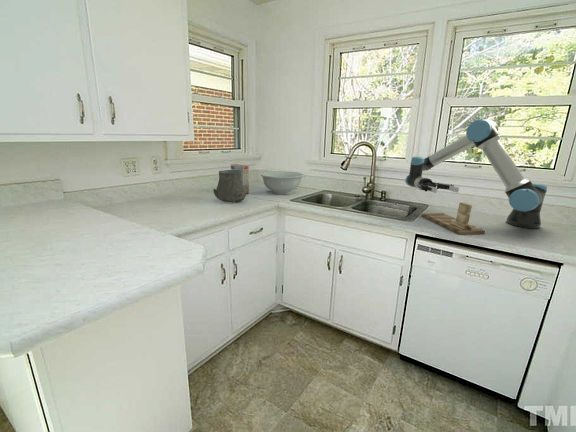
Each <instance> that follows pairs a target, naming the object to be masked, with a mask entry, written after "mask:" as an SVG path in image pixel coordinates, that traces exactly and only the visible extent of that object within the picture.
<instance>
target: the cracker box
mask: <svg viewBox="0 0 576 432" xmlns="http://www.w3.org/2000/svg"><path fill="white" fill-rule="evenodd" d="M230 170H240V171H242V174H241V179H242V184H243V187H244V190H245V194H246V195H248V194H250V193H249V191H250V189H249V187H250V182H249V180H250V179H249V178H250V177H249V175H250V173H249V171H250V170H249V165H246V164H238V163H232V164H230Z"/></svg>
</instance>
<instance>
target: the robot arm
mask: <svg viewBox="0 0 576 432" xmlns="http://www.w3.org/2000/svg"><path fill="white" fill-rule="evenodd" d="M500 138H501V134H500V133H499V126H498V124H497V123H496V122H495V121H494V120H491V119H487V118H479V119H475V120H473V121H472V122H470V123H469V124H468V126H467V128H466V131H465V135H464V136H463V137H461V138H459V139H457V140H456V141H454V142H451V143H450V144H448V145H447V146H445V147H443V148H441V149H440V150H438V151H436V152H433V153H432V154H431V155H429V156H427V157H425V158H424V157H423V156H412V157H411V160H410V165H409V167H410V168H409V174H408V175H407V176H406V178H405V184H406V185H407V186H409V187H411V188H414V189H415V188H416V189H418V190H419V191H420V190H421V191H424V192H431V193H435V194H436V193H437V191H438V190H439V189H440V190H447V191H451V192H453V193H459V191H460V187H458V186H454V184H446V183H440V182H435V181H434V182H433V180H432V179H431V178H428V177H423V176H422V175H423V171H430V170H431V168H432V169H433V168H434V167H436V166H438V165H439V164H441V163H444V162H446V160H450V159H451V158H453V157H455V156H457V155H458V154H460V153H463V152H464V151H467V150H469V149H471V148H472V147H474V146H475V147H476V149H478V150H482V152H483V154H484V155H485V156H486V159H487V160H488V161H489V163H490V165H491V166H492V168H493V170H494V171H495V173H496V174H497V175H498V177H499V178H500V180H501V182H502V183H503V185H504V186H505V189H504V193H505V195H506V196H507V198H508V203H509V205H510V207H511V208H513V209H511V212H510V213H509V214H508V216H507V218H506V220H505V222H506V223H507V224H509V225H512V226H514V227H515V226H516V227H520V228H526V229H533V230H534V229H536V230H537V229H540V228H541V226H542V220H541V210H542V206H543V203H544V200H545V196H546V194H547V191H548V190H547V189H548V187H547V185H545V184H537V183H533V182H532V181H531V180H530V179H525V177H524V176H523V174H522V172H521V171H520V170H519V168H518V166H517V165H516V163H515V161H514V160H513V159H512V157H511V156H510V155H509V153H508V151H507V150H506V149H505V146H504V145H503V144H502V142H501V141H500Z"/></svg>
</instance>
